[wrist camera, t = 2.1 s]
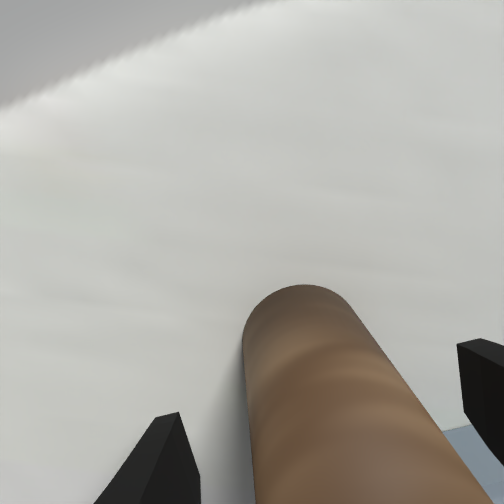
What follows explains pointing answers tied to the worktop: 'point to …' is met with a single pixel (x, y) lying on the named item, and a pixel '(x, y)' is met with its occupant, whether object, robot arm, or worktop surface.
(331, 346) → the walnut peg
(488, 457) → the candle dish
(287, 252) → the worktop surface
